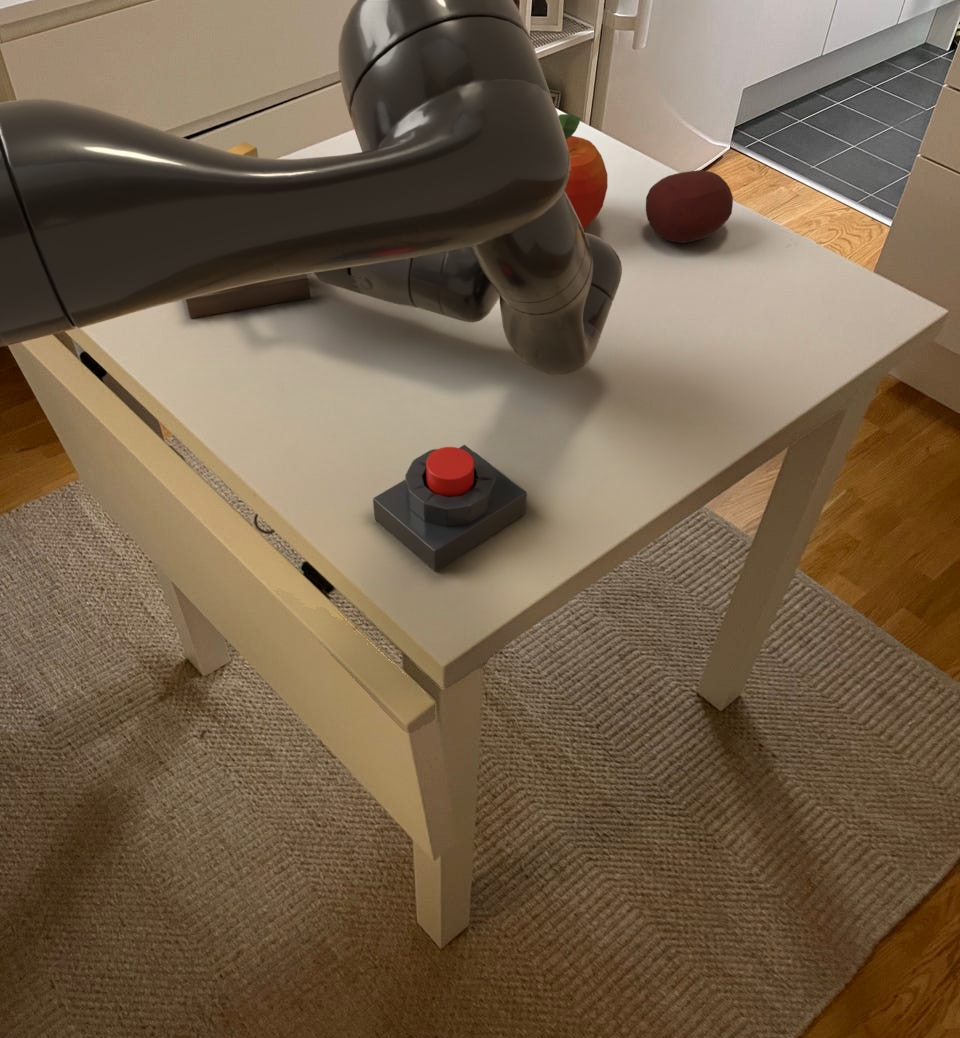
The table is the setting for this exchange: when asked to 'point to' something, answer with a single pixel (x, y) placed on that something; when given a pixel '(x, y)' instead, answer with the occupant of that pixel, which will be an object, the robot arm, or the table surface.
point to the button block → (448, 511)
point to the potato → (688, 205)
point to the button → (450, 471)
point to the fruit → (584, 173)
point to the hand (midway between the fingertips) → (204, 198)
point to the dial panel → (250, 296)
